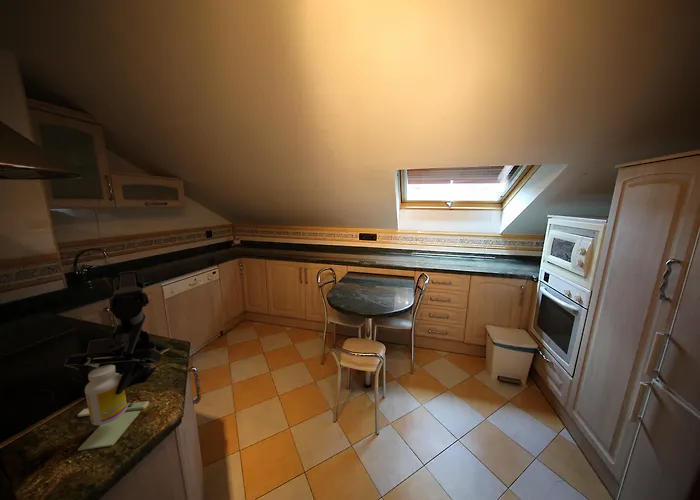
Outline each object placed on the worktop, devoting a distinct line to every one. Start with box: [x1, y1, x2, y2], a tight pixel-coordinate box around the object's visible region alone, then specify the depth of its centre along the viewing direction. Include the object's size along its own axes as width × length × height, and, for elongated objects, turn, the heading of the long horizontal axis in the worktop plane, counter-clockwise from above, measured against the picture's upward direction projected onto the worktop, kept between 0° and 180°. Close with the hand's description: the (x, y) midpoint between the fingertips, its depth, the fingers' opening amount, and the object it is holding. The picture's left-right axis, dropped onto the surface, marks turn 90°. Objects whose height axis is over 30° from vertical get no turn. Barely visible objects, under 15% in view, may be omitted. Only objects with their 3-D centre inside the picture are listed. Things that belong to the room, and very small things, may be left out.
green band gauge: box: [77, 400, 150, 452], centre depth 62 cm, size 13×16×1 cm
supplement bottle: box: [85, 364, 128, 426], centre depth 60 cm, size 7×7×13 cm
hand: (101, 396), depth 59 cm, fingers closed on supplement bottle, 7 cm apart
